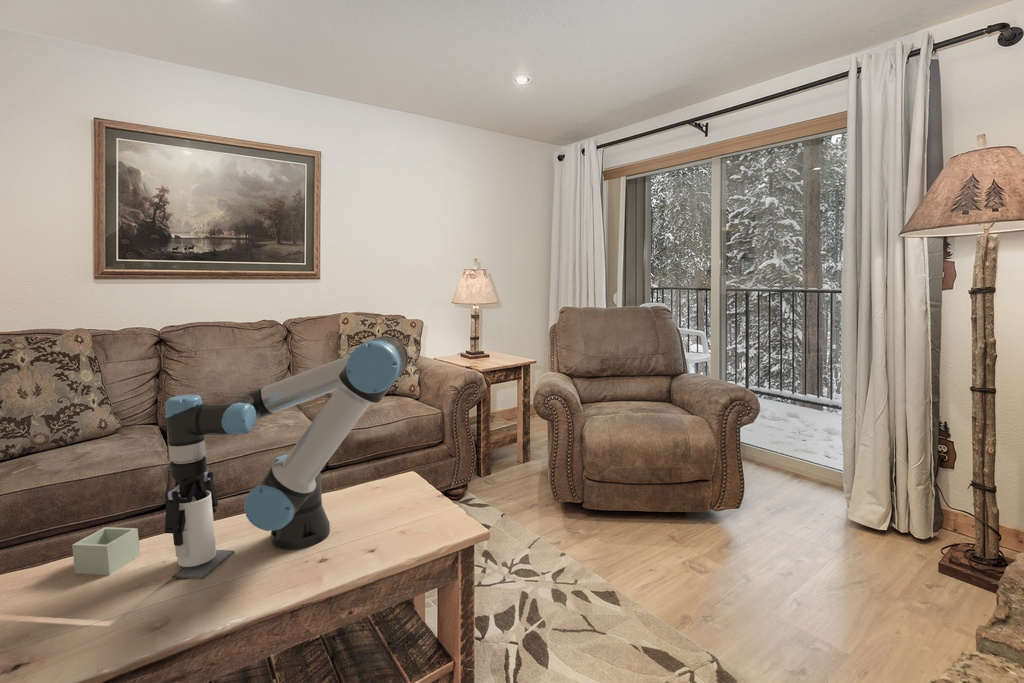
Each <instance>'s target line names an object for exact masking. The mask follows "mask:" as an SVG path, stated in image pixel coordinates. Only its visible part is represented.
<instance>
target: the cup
mask: <svg viewBox="0 0 1024 683" xmlns="http://www.w3.org/2000/svg"><path fill="white" fill-rule="evenodd" d="M181 499H187V498H183V497H181ZM212 502H213V501H212V499H211V492H210V491H207V490H206V498H204V499H201V500H198V501H196V499H195V497H194V496H193V497H192V501H191V502H190V503H179V510H184V509H185V518H186V521H185V526H184V530H187V539H188V551H189V556H188V557H176V558H177V560H176V561H177V565H178V566H180V567H183V568H184V567H192V566H197V565H200V564H203V563H206V562H208V561H210V560H211V559H213V558H214V557H215V555H216V550H217V547H216V536H215V535H216V534H215V524H214V523H215V522H214V513H213V510H212ZM178 527H179V526H178Z"/></svg>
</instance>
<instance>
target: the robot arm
mask: <svg viewBox="0 0 1024 683" xmlns="http://www.w3.org/2000/svg"><path fill="white" fill-rule="evenodd" d="M408 362H409V354H408V350H407V348H406V347H405V345H404V343H402V342H401V341H400V340H399V339H398V338H395V337H393V336H388V335H383V336H378V337H377V336H376V337H375V338H373V339H371V340H367V341H365V342H362V343H361V344H359V345H358V346H357V347H355V348H354V349H353V350H352V352H351V353H350V355H346V356H344V357H341V358H338V359H336V360H333V361H330V362H327V363H325V364H322V365H319V366H316V367H314V368H312V369H309V370H306V371H304V372H301V373H298V374H295V375H293V376H290V377H287V378H284V379H282V380H279V381H276V382H273V383H271V384H269V385H266V386H263V387H261V388H256V389H253V390H250V391H247V392H245V393H244V394H242V395H239V396H238V397H235V398H233V399H231V400H228V401H227V402H226V401H225V402H224V403H203V401H202V397H201V395H199V394H183V395H176V396H173V397H170V398H168V399H167V400H166V401H165V408H164V409H165V416H164V418H165V423H166V430H167V431H166V432H167V438H168V439H167V440H168V442H167V443H168V455H169V461H171V462H170V463H169V467H170V468H169V469H170V476H171V478H172V479H174V481H175V482H174V486H173V487H174V488H172V489H171V490H166V491H165V492H164V498H165V500H166V501H165V520H164V521H165V522H164V534H172V537H173V538H172V539H173V546H174V548H175V557H176V558H177V557H188V556H189V551H188V539H187V530H184V526H185V521H186V518H185V509H184V510H179V503H190V502H191V501H192V497H193V496H194V497H195V499H196V501H198V500H201V499H204V498H206V490H207V491H210V492H211V499H212V510H213V514H214V513H216V512H217V510H218V509H217V508H218V506H219V501H218V497H217V493H216V492H217V491H216V489H215V488H216V487H215V483H214V472H213V471H207V470H208V465H207V464H208V463H207V457H206V454H207V449H206V439H205V436H238V435H239V436H240V435H247V434H250V433H251V432H252V431H253V430H254V427H255V426H256V423H257V420H259V419H262V418H265V417H268V416H270V415H273V414H276V413H277V412H281V411H283V410H285V409H289V408H292V407H295V406H297V405H300V404H303V403H306V402H308V401H310V400H311V401H312V400H313V399H316V398H319V397H322V396H324V395H327V394H331V393H333V394H332V395H331V396H330V397H329V399H328V400H327V402H326V403H325V404H324V406H323V407H322V409H320V411H319V412H318V414H317V415H316V416H315V418H314V419H313V421H312V422H311V423H310V425H309V426H308V428H307V429H306V430H305V431H304V433H303V434H302V436H301V437H300V438H299V440H298V441H297V442H296V444H295V445H294V446H293V448H292V449H291V450H290V452H289V453H286V454H282V455H279V456H277V457H275V458H274V459H273V462H272V465H271V467H270V468H269V469H268V470H267V472H266V473H265V475H264V476H263V477H262V479H261V480H260V481H259V483H258V484H257V485H256V486H255V487H253V488H251V489H250V490H249V492H248V494H246V497H245V498H244V499H245V500H244V503H243V510H244V513H245V517H246V518H247V520H248V521H249V523H251V525H253V526H254V527H256V528H258V529H259V530H263V531H267V532H270V542H271V544H272V546H274V547H275V548H277V549H283V550H296V549H297V550H298V549H304V548H308V547H311V546H314V545H316V544H319V543H320V542H322V541H324V540H325V539H326V538H327V537H328V536H329V535H330V533H331V525H330V520H329V519H328V516H327V514H326V512H325V509H324V507H323V500H322V499H323V497H322V495H323V494H322V481H321V480H322V477H321V471H322V470H323V468H324V467H325V466H326V464H327V463H328V461H329V460H330V459H331V457H332V456H333V454H335V452H336V451H337V449H338V448H339V446H341V444H342V442H343V441H344V440H345V439H346V438H347V436H348V435H349V433H350V432H351V431H352V429H353V428H354V427H355V425H356V424H357V422H359V419H360V418H361V417H362V416H363V414H364V413H365V412H366V410H367V409H368V408H369V407H370V406H371V405H377V404H380V402H381V400H382V399H383V398H384V396H386V394H387V393H388V392H389V390H390V389H391V388H392V386H393V385H394V383H395V382H396V381H397V380H398V378H400V376H401V375H402V374H404V372H405V371H406V369H407V366H408ZM181 497H183V498H187V499H181ZM178 526H179V527H178Z"/></svg>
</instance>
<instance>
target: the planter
mask: <svg viewBox="0 0 1024 683" xmlns="http://www.w3.org/2000/svg"><path fill="white" fill-rule="evenodd" d="M71 547H72V556H73V564H74V574H77V575H79V574H80V575H95V576H97V575H101V576H102V575H103V576H111V575H112V574H114V573H115V572H117V571H118V570H120V569H121V568H123V567H125V566H126V565H128V564H129V563H131V562H133V561H134V560H135V559H137V558H138V557H140V556H141V551H140V540H139V529H138V528H136V527H135V528H134V527H133V528H132V527H115V526H114V527H113V526H110V527H109V526H106V527H105V526H104V527H103V528H100V529H99V530H97V531H96V532H94V533H92V534H90V535H87V536H86V537H84V538H82V539H80V540H79V541H77V542H75V543H73V544H72V545H71Z"/></svg>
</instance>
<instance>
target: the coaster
mask: <svg viewBox="0 0 1024 683" xmlns="http://www.w3.org/2000/svg"><path fill="white" fill-rule="evenodd" d="M234 553H235V550H233V549H232V550H231V549H230V550H229V549H216V555H215V557H214V558H213V559H211V560H210V561H208V562H206V563H203V564H200V565H197V566H192V567H183V568H181V570H179V571H178V572H177V573H175V574H174V575H173V576H171V578H177V579H178V578H179V579H194V580H195V579H196V580H198V579H199V580H203V579H205V578H206V577H207V576H208V575H210V574H211V573H212V572H213V571H214V570H215V569H217V568H218V567H219V566H220V565H221V564H223V563H224V562H225V561H226V560H228V559H229V558H230V557H231V556H233V554H234Z"/></svg>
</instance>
